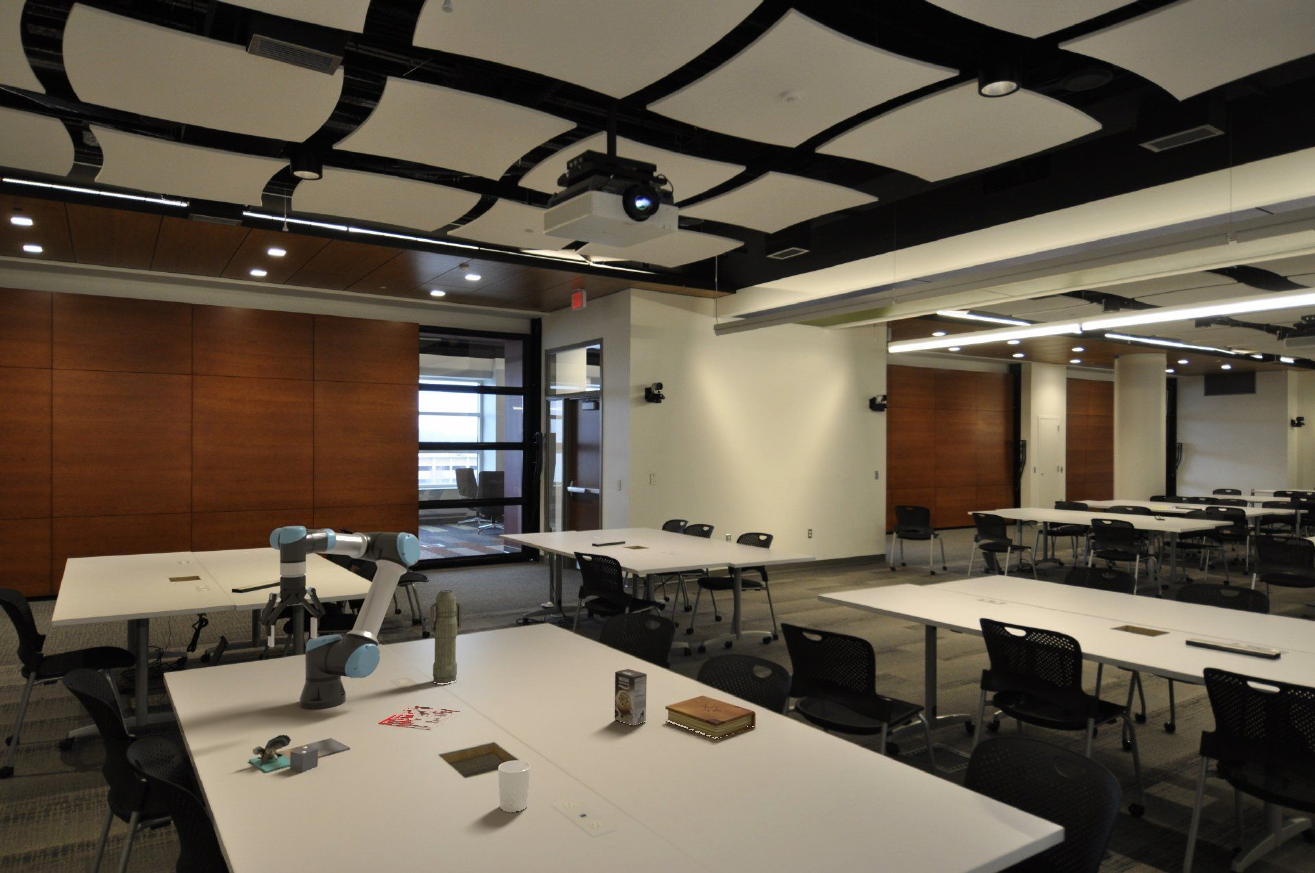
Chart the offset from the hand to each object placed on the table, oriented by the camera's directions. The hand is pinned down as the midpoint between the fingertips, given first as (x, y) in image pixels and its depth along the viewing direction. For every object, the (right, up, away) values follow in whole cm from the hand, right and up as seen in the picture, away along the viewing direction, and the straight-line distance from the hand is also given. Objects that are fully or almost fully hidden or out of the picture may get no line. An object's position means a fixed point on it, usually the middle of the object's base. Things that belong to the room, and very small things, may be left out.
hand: (292, 642), depth 251 cm
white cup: (+80, -27, -55) cm, 101 cm away
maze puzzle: (+37, -29, +13) cm, 49 cm away
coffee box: (+107, -29, +10) cm, 111 cm away
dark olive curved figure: (+6, -27, -27) cm, 38 cm away
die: (+17, -27, -31) cm, 44 cm away
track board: (+12, -27, -21) cm, 37 cm away
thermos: (+33, -30, +55) cm, 71 cm away
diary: (+133, -30, +8) cm, 137 cm away
